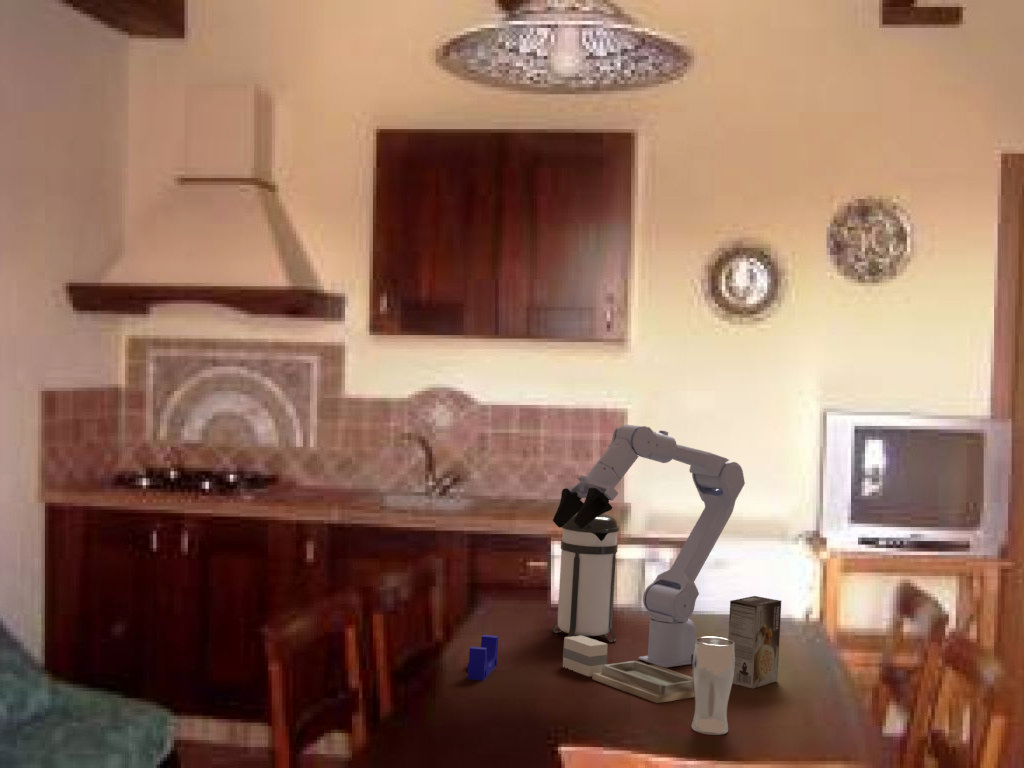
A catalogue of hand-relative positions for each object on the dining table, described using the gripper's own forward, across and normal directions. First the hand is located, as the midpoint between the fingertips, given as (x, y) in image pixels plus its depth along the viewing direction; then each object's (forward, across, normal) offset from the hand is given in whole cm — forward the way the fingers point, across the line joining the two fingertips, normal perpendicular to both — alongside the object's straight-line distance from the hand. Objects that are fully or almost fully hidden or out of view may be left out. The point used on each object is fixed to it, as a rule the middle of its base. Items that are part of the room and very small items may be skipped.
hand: (566, 524), depth 238 cm
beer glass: (+20, +34, +28) cm, 48 cm away
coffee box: (-2, +11, +47) cm, 48 cm away
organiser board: (+12, +8, +31) cm, 35 cm away
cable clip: (+30, -11, +10) cm, 33 cm away
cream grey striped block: (+16, -6, +25) cm, 30 cm away
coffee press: (+3, -32, +35) cm, 47 cm away
